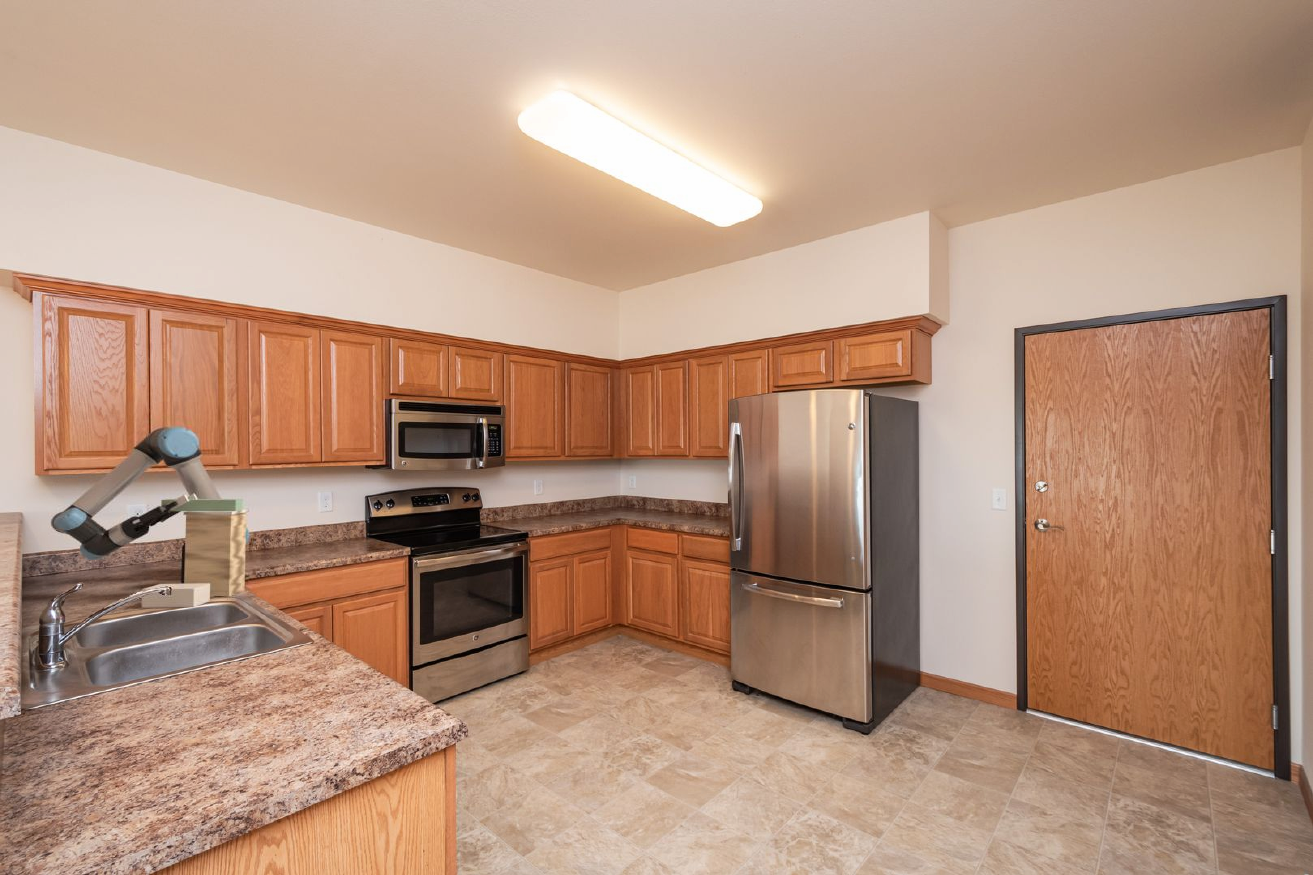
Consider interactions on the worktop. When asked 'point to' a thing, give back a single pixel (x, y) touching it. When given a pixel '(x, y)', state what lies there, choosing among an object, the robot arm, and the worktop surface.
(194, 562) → the tall wooden pillar block
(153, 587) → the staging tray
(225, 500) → the pale green rectangular block
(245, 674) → the worktop surface
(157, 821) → the worktop surface
